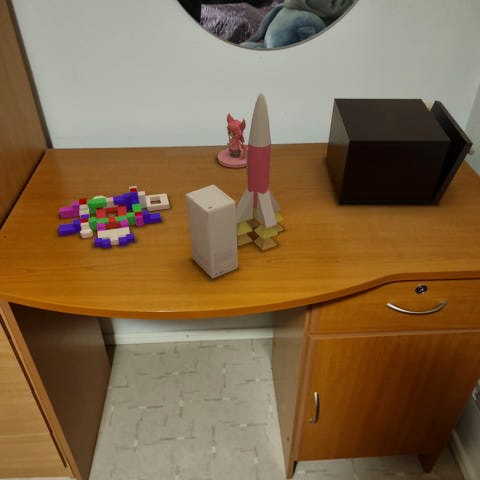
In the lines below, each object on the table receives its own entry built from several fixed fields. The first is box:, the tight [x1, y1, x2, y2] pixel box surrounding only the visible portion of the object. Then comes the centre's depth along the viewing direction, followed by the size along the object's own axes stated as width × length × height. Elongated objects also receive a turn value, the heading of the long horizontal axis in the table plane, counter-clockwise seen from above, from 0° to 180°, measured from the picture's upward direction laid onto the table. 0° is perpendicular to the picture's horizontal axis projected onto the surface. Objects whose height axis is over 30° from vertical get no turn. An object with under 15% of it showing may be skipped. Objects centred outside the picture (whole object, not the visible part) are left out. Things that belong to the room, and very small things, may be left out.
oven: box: [325, 97, 451, 206], centre depth 118 cm, size 22×24×16 cm
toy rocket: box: [236, 92, 285, 251], centre depth 96 cm, size 12×12×30 cm
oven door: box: [430, 99, 475, 206], centre depth 119 cm, size 5×24×16 cm, turn 0°
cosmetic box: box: [185, 184, 239, 279], centre depth 94 cm, size 8×7×16 cm
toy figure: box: [217, 113, 248, 169], centre depth 128 cm, size 10×10×12 cm
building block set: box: [58, 185, 171, 249], centre depth 109 cm, size 25×20×4 cm
